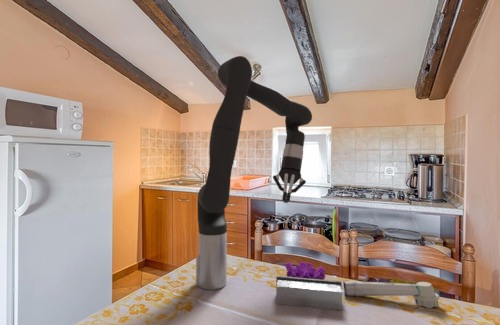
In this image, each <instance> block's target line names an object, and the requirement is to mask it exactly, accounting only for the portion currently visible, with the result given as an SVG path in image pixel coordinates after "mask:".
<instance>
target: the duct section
mask: <svg viewBox="0 0 500 325" xmlns="http://www.w3.org/2000/svg"><path fill="white" fill-rule="evenodd" d="M342 283H343V281H340V280H329V279H324V280H320V279H308V278H297V277H287V276H283V275H282V276H281V275H276V283H275V285H276V287H275V288H276V292H275V294H276V302H275V304H278V305H287V306H297V307H305V308H306V307H307V308H315V309H326V310H333V311H342V310H343V291H342V287H343V286H342V285H343V284H342Z"/></svg>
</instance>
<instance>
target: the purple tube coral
mask: <svg viewBox="0 0 500 325" xmlns="http://www.w3.org/2000/svg"><path fill="white" fill-rule="evenodd" d="M284 266H285V268H286V277H297V278H308V279H320V280H326V279H325V278H326V275H325V274H326V271H327V270H326V269H325V268H324V267H322V266H321V265H320V266H319V267H318V268H317V269H316V270H315V267H313V263H310V262H304V261H300V262H299V265H296V268H295V267H294V266H293V264H292V262H290V261H289V262H287V263H285V264H284Z"/></svg>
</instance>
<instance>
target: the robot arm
mask: <svg viewBox="0 0 500 325" xmlns="http://www.w3.org/2000/svg"><path fill="white" fill-rule="evenodd" d="M252 67H253V66H252V64H251V62H250V60H249V59H248V58H247V57H246V56H243V55H237V56H234V57H232V58H230V59H229V60H227V61H225V62H223V63H222V64H220V66H219V68H218V69H217V77H218V80H219V82H220V84H221V85H223V86H224V88H225V87H226V88H225V93H224V98H223V100H222V102H221V104H220V106H219V109H218V110H217V112H216V114H215V117H214V119H213V123H212V125H211V126H212V127H211V130H210V136H209V146H208V147H209V148H208V150H209V151H208V153H209V155H208V156H209V167H208V172H207V176H206V181H205V184H203V185H202V186H201V187H200V189H199V191H198V193H197V223H198V255H197V256H196V257H195V258H196V260H195V263H196V264H195V277H196V278H195V286H196V287H199V288H201V289H204V290H219V289H222V288H224V287H225V286H226V285H227V264H228V263H227V256H228V255H227V253H228V252H227V249H228V245H227V244H228V240H227V239H228V238H227V237H228V226H227V221H226V216H225V215H226V214H225V213H226V212H225V211H226V210H225V209H226V208H227V207H228V204H229V201H230V195H231V194H230V192H231V178H232V170H233V166H234V161H235V157H236V153H237V147H238V143H239V139H240V132H241V124H242V121H243V120H242V119H243V115H244V108H245V103H246V100H247V97H248V98H250V99H252V100H254V101H255V102H258V103H259V104H261V105H263V106H264V107H266V108H267V109H269V110H270V111H271V112H272V113H273V112H274V113H275V114H276V115H278V116H280V117H285V119H284V120H285V124H284V125H285V132H286V138H285V144H284V148H283V153H282V159H281V164H280V170H279V172H278V173H277V174H276V175H273V176H272V179H273V181H274V182H275V184H276V186H277V188H278V190H279V191H281V192H282V198H281V199H282V201H283V203H285V204H288V203H289V202H290V201H291V196H292V194H293V193H296V192H298V191H299V190H300V189H301V188H302V187H304V185H305V184H306V182H307V181H306V180H305V179H304V178H303V176H302V173H301V172H302V163H303V159H304V147H305V146H304V145H305V137H306V136H305V133H304V132H303V131H301V130H299V127H303V126H307V125H308V124H310V123H311V122H312V120H313V115H312V112H311V110H310V108H309V107H307V106H306V105H304V104H302V103H299V102H297V101H294V100H291V99H289V98H288V97H287V96H286V95H284V94H282V93H281V92H279V91H278V90H276V89H274V88H272V87H270V86H265V85H264V84H261V83H259V82H256V81H255V80H253V78H252V77H253V68H252ZM280 179H281V181H282V183H283V186H282V185H281V183H280V181H279V180H280ZM297 182H298V185H297V186H295V187H294V188H293V186H294V185H295V184H296V183H297Z"/></svg>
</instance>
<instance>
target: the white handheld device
mask: <svg viewBox="0 0 500 325" xmlns="http://www.w3.org/2000/svg"><path fill="white" fill-rule="evenodd" d="M342 283H343V284H342V285H343V291H344V296H347V297H348V296H349V297H356V298H359V297H365V296H366V297H370V296H371V297H376V296H377V297H380V296H381V297H384V296H385V297H386V296H387V297H388V296H389V297H395V296H398V297H401V296H404V297H406V296H410V297H411V296H412V297H413V299H414V302H415V304H416V305H417V306H419V307H425V308H426V309H433V308H434V307H435V308H438V307H439V301H438V300H439V299H440V295H439V294H438V293H436V292H435V288H434V286H433V285H432V283H431V282H427V281H419V282H418V281H417V283H399V282H398V283H397V282H396V283H394V282H380V281H379V282H376V281H356V279H354V280H352V281H350V280H349V281H342Z"/></svg>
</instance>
